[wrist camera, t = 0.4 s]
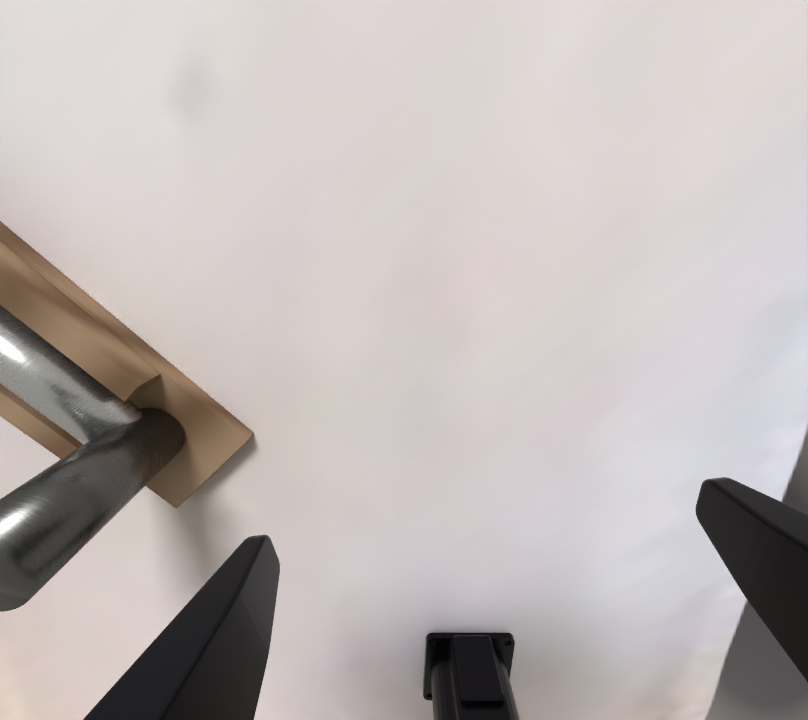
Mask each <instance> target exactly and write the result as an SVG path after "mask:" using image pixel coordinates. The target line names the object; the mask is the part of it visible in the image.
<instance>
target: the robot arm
mask: <svg viewBox="0 0 808 720" xmlns="http://www.w3.org/2000/svg"><path fill="white" fill-rule="evenodd" d="M696 515H697V518H698V520H699V522H700V524H701V526H702V527H703V529H704V531H705V532H706V534H707V535H708V537H709V539H710V540H711V542H712V544H713V545H714V547H715V549H716V550H717V552H718V554H719V555H720V557H721V558H722V560H723V562H724V563H725V565H726V567H727V568H728V570H729V572H730V573H731V575H732V576H733V578H734V580H735V581H736V583H737V585H738V586H739V588H740V589H741V591H742V592H743V594H744V595H745V597H746V598H747V600H748V601H749V603H750V604H751V605H752V607H753V608H754V610H755V611H756V612H757V614H758V615H759V617H760V618H761V619H762V621H763V622H764V623H765V625H766V626H767V627H768V629H769V630H770V631H771V633H772V634H773V636H774V637H775V638H776V640H777V641H778V642H779V644H780V645H781V646H782V648H783V649H784V651H785V652H786V653H787V655H788V656H789V657H790V659H791V660H792V661H793V663H794V664H795V665H796V667H797V668H798V670H799V671H800V672H801V674H802V675H803V676H804V678H805V679H806V681H807V682H808V514H806V513H804V512H801V511H799V510H797V509H795V508H793V507H791V506H789V505H786V504H784V503H782V502H780V501H778V500H776V499H773V498H771V497H769V496H767V495H765V494H763V493H761V492H758V491H756V490H754V489H752V488H750V487H748V486H745V485H743V484H741V483H739V482H737V481H735V480H732V479H730V478H725V477H722V478H713V479H707V480H705V481H704V482H703V483H702V485H701V489H700V493H699V497H698V500H697V504H696ZM279 574H280V564H279V559H278V557H277V554H276V552H275V549H274V547H273V544H272V542H271V539H270V537H269V536H267V535H258V536H251V537H248V538H247V539H245V540H244V541H243V542H242V544H241V545H240V546H239V547H238V548H237V549H236V550H235V551H234V552H233V554H232V555H231V556H230V557H229V558H228V559H227V560H226V561H225V562H224V564H223V565H222V566H221V567H220V568H219V569H218V570H217V571H216V572H215V574H214V575H213V576H212V577H211V578H210V579H209V580H208V581H207V582H206V584H205V585H204V586H203V587H202V588H201V589H200V590H199V591H198V592H197V594H196V595H195V596H194V597H193V598H192V599H191V600H190V601H189V602H188V604H187V605H186V606H185V607H184V608H183V609H182V610H181V611H180V612H179V614H178V615H177V616H176V617H175V618H174V619H173V620H172V621H171V622H170V624H169V625H168V626H167V627H166V628H165V629H164V630H163V631H162V632H161V634H160V635H159V636H158V637H157V638H156V639H155V640H154V641H153V642H152V644H151V645H150V646H149V647H148V648H147V649H146V650H145V651H144V652H143V654H142V655H141V656H140V657H139V658H138V659H137V660H136V661H135V662H134V664H133V665H132V666H131V667H130V668H129V669H128V670H127V671H126V672H125V674H124V675H123V676H122V677H121V678H120V679H119V680H118V681H117V682H116V684H115V685H114V686H113V687H112V688H111V689H110V690H109V691H108V692H107V694H106V695H105V696H104V697H103V698H102V699H101V700H100V701H99V702H98V704H97V705H96V706H95V707H94V708H93V709H92V710H91V711H90V712H89V714H88V715H87V716H86V717H85V718H84V719H83V720H254V716H255V711H256V707H257V703H258V698H259V694H260V690H261V685H262V681H263V677H264V672H265V668H266V663H267V659H268V654H269V648H270V641H271V634H272V626H273V619H274V611H275V604H276V596H277V589H278V581H279ZM514 644H515V642H514V638H513V636H512V634H510V633H430V634H428V635H427V637H426V649H425V667H424V684H423V696H424V698H425V699H426V700H433V713H434V720H519V716H518V712H517V708H516V704H515V700H514V696H513V692H512V688H511V684H510V681H509V678H510V671H511V664H512V658H513V651H514Z"/></svg>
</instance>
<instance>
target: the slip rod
mask: <svg viewBox="0 0 808 720" xmlns="http://www.w3.org/2000/svg"><path fill="white" fill-rule="evenodd" d="M0 384H1V385H3V386H4V387H6V388H7V389H8V390H10V391H11V392H12V393H14V394H15V395H17V396H18V397H19V398H21V399H22V400H23V401H25V402H26V403H27V404H29V405H30V406H32V407H33V408H34V409H36V410H37V411H38V412H40V413H41V414H42V415H44V416H45V417H47V418H48V419H49V420H51V421H52V422H53V423H55V424H56V425H58V426H59V427H60V428H62V429H63V430H64V431H66V432H67V433H68V434H70V435H71V436H73V437H74V438H75V439H77V440H78V441H79V442H81V443H82V444H83V445H82V446H81V447H79V448H78V449H76V450H75V451H73V452H72V453H70V454H69V455H67V456H65V457H64V458H62V459H61V460H59V461H58V462H56V463H55V464H53V465H52V466H50V467H49V468H47V469H46V470H44V471H43V472H41V473H40V474H38V475H37V476H35V477H34V478H32V479H31V480H29V481H27V482H26V483H24V484H23V485H21V486H20V487H18V488H17V489H15V490H14V491H12V492H11V493H9V494H8V495H6V496H5V497H3V498H2V499H0V611H9V610H13V609H16V608H18V607H20V606H22V605H24V604H25V603H26V602H27V601H29V600H30V599H31V598H32V597H33V596H34V595H35V594H36V593H37V592H38V591H39V590H40V589H41V588H42V587H43V586H44V585H45V584H46V583H47V582H48V581H49V580H50V579H51V578H52V577H53V576H54V575H55V574H56V573H57V572H58V571H59V570H60V569H61V568H62V567H63V566H64V565H65V564H66V563H67V562H68V561H69V560H70V559H71V558H72V557H73V556H74V555H75V554H76V553H77V552H78V551H79V550H80V549H81V548H82V547H83V546H84V545H86V544H87V543H88V542H89V541H90V540H91V539H92V538H93V537H94V536H95V535H96V534H97V533H98V532H99V531H100V530H101V529H102V528H103V527H104V526H105V525H106V524H107V523H108V522H109V521H110V520H111V519H112V518H113V517H114V516H115V515H116V514H117V513H118V512H119V511H120V510H121V509H122V508H123V507H124V506H125V505H126V504H127V503H128V502H129V501H130V500H131V499H132V498H133V497H134V496H135V495H136V494H137V493H138V492H139V491H140V490H141V489H142V488H143V487H144V486H145V485H147V484H148V483H149V482H150V481H151V480H152V479H153V478H154V477H155V476H156V475H157V474H158V473H159V472H160V471H161V470H162V469H163V468H164V467H165V466H166V465H167V464H168V463H169V462H170V461H171V460H172V459H173V458H174V457H175V456H176V455H177V454H178V453H179V452H180V451H181V449H182V447H183V444H184V433H183V430H182V427H181V425H180V424H179V422H178V421H177V420H176V419H175V418H174V417H173V416H172V415H170V414H169V413H167V412H165V411H163V410H160V409H157V408H150V407H149V408H141V409H137V408H136V407H134V406H133V405H132V404H131V403H129V402H128V401H127V400H126V401H123V400H122V399H120V398H119V397H118V396H116V395H115V394H114V393H113V392H111V391H110V390H109V389H107V388H106V387H105V386H104V385H102V384H101V383H100V382H99V381H97V380H96V379H95V378H93V377H92V376H91V375H90V374H88V373H87V372H86V371H84V370H83V369H82V368H81V367H79V366H78V365H77V364H75V363H74V362H73V361H72V360H70V359H69V358H68V357H67V356H65V355H64V354H63V353H61V352H60V351H59V350H58V349H56V348H55V347H54V346H52V345H51V344H50V343H49V342H47V341H46V340H45V339H43V338H42V337H41V336H40V335H38V334H37V333H36V332H35V331H33V330H32V329H31V328H29V327H28V326H27V325H26V324H24V323H23V322H22V321H20V320H19V319H18V318H17V317H15V316H14V315H13V314H12V313H10V312H9V311H8V310H6V309H5V308H4V307H3V306H1V305H0Z"/></svg>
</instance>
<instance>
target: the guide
mask: <svg viewBox="0 0 808 720" xmlns="http://www.w3.org/2000/svg"><path fill="white" fill-rule="evenodd" d="M0 305H1V306H3V307H4V308H5V309H6V310H8V311H9V312H10V313H12V314H13V315H14V316H15V317H17V318H18V319H19V320H20V321H22V322H23V323H24V324H26V325H27V326H28V327H29V328H31V329H32V330H33V331H35V332H36V333H37V334H38V335H40V336H41V337H42V338H43V339H45V340H46V341H47V342H49V343H50V344H51V345H52V346H54V347H55V348H56V349H58V350H59V351H60V352H61V353H63V354H64V355H65V356H67V357H68V358H69V359H70V360H72V361H73V362H74V363H75V364H77V365H78V366H79V367H81V368H82V369H83V370H84V371H86V372H87V373H88V374H90V375H91V376H92V377H93V378H95V379H96V380H97V381H99V382H100V383H101V384H102V385H104V386H105V387H106V388H107V389H109V390H110V391H111V392H113V393H114V394H115V395H116V396H118V397H119V398H120V399H122V400H123V401H126V400H127V401H128V402H129V403H131V404H132V405H133V406H134V407H136V408H137V409H141V408H149V407H150V408H157V409H160V410H163V411H165V412H167V413H169V414H170V415H172V416H173V417H174V418H175V419H176V420H177V421H178V422H179V424H180V425H181V427H182V430H183V433H184V444H183V447H182V449H181V451H180V452H179V453H178V454H177V455H176V456H175V457H174V458H173V459H172V460H171V461H170V462H169V463H168V464H167V465H166V466H165V467H164V468H163V469H162V470H161V471H160V472H159V473H158V474H157V475H156V476H155V477H154V478H153V479H152V480H151V481H150V482H149V483H148V484H147V485H145V486H147V487H148V488H149V489H151V490H152V491H153V492H155V493H156V494H157V495H159V496H160V497H162V498H163V499H164V500H166V501H167V502H168V503H170V504H171V505H172V506H174V507H175V508H178V507H179V506H180V505H181V504H182V503H183V502H184V501H185V500H186V499H187V498H188V497H189V496H190V495H191V494H192V493H193V492H194V491H195V490H196V489H197V488H198V487H199V486H200V485H202V484H203V483H204V482H205V481H206V480H207V479H208V478H209V477H210V476H211V475H212V474H213V473H214V472H215V471H216V470H217V469H218V468H219V467H220V466H221V465H222V464H223V463H224V462H226V461H227V460H228V459H229V458H230V457H231V456H232V455H233V454H234V453H235V452H236V451H237V450H238V449H239V448H240V447H241V446H242V445H243V444H244V443H245V442H246V441H247V440H248V439H249V438H250V436H251V435H252V434H253V432H252V431H251V430H250V429H249V428H247V427H246V426H245V425H244V424H243V423H241V422H240V421H239V420H238V419H237V418H235V417H234V416H233V415H232V414H231V413H229V412H228V411H227V410H226V409H225V408H223V407H222V406H221V405H220V404H219V403H217V402H216V401H215V400H214V399H213V398H211V397H210V396H209V395H208V394H207V393H205V392H204V391H203V390H202V389H201V388H199V387H198V386H197V385H196V384H195V383H193V382H192V381H191V380H190V379H189V378H187V377H186V376H185V375H184V374H183V373H181V372H180V371H179V370H178V369H177V368H175V367H174V366H173V365H172V364H171V363H169V362H168V361H167V360H166V359H165V358H163V357H162V356H161V355H160V354H159V353H157V352H156V351H155V350H154V349H153V348H151V347H150V346H149V345H148V344H147V343H145V342H144V341H143V340H142V339H141V338H139V337H138V336H137V335H136V334H135V333H133V332H132V331H131V330H130V329H129V328H127V327H126V326H125V325H124V324H123V323H121V322H120V321H119V320H118V319H117V318H115V317H114V316H113V315H112V314H111V313H109V312H108V311H107V310H106V309H105V308H103V307H102V306H101V305H100V304H99V303H97V302H96V301H95V300H94V299H93V298H91V297H90V296H89V295H88V294H87V293H85V292H84V291H83V290H82V289H81V288H79V287H78V286H77V285H76V284H75V283H74V282H72V281H71V280H70V279H69V278H68V277H66V276H65V275H64V274H63V273H62V272H60V271H59V270H58V269H57V268H56V267H54V266H53V265H52V264H51V263H50V262H48V261H47V260H46V259H45V258H44V257H42V256H41V255H40V254H39V253H38V252H36V251H35V250H34V249H33V248H32V247H30V246H29V245H28V244H27V243H26V242H24V241H23V240H22V239H21V238H20V237H18V236H17V235H16V234H15V233H14V232H12V231H11V230H10V229H9V228H8V227H6V226H5V225H4V224H3V223H2V222H0ZM0 416H1V417H3V418H4V419H5V420H7V421H8V422H10V423H11V424H12V425H14V426H15V427H17V428H18V429H19V430H21V431H22V432H24V433H25V434H26V435H28V436H29V437H31V438H32V439H33V440H35V441H36V442H38V443H39V444H40V445H42V446H43V447H45V448H46V449H47V450H49V451H50V452H52V453H53V454H55V455H56V456H57V457H59V458H60V459H62V458H64V457H65V456H67V455H69V454H70V453H72V452H73V451H75V450H76V449H78V448H79V447H81V446H82V445H83V444H82V443H81V442H79V441H78V440H77V439H75V438H74V437H73V436H71V435H70V434H68V433H67V432H66V431H64V430H63V429H62V428H60V427H59V426H58V425H56V424H55V423H53V422H52V421H51V420H49V419H48V418H47V417H45V416H44V415H42V414H41V413H40V412H38V411H37V410H36V409H34V408H33V407H32V406H30V405H29V404H27V403H26V402H25V401H23V400H22V399H21V398H19V397H18V396H17V395H15V394H14V393H12V392H11V391H10V390H8V389H7V388H6V387H4V386H3V385H1V384H0Z"/></svg>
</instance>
